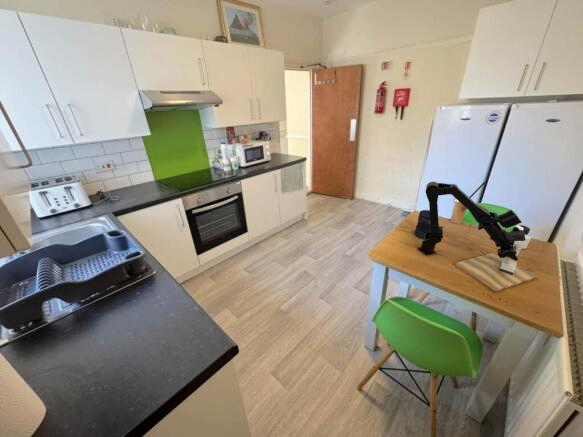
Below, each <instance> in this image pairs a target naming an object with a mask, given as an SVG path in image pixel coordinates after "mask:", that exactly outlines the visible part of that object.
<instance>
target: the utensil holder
mask: <svg viewBox="0 0 583 437" xmlns="http://www.w3.org/2000/svg"><path fill="white" fill-rule="evenodd" d="M485 184H486V181H483V182H482V183H481V185H479V186H478V187H477V188H476V190H474V192H473V193H471V195H470V196H468V197H469V198H471V199H472V197H473V196H474V195H475V194H476V193H477V192H478V191H479V190H480V189H481V188H482V187H484V185H485ZM452 199H453V204H452V210H451V215H450V220H449V221H450V222H451V223H453V224H462V222H463V220H464V218H465V216H466V214H467V212H468V211H469V210H468V209H467V208H466V207H465V206H464V205H463V204H461V203H460V202H459V201H458V200H457V199H456V198H455V197H454V198H452Z"/></svg>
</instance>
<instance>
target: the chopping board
mask: <svg viewBox="0 0 583 437" xmlns="http://www.w3.org/2000/svg"><path fill="white" fill-rule="evenodd" d="M504 258H505V257H504ZM504 258H500V257H499V256H498V254H497V253H494V252H490V253H486V254H482V255H479V256H476V257H472V258H468V259H464V260H461V261H457V262H455V263H454V266H455V267H457V268H458V269H460V270H461V271H463V272H464V273H466V274H468V276H470V277H472V278H473V279H475V280H476V281H478V282H479V283H481V284H482V285H483V286H485V287H486V288H488V289H490V290H491V291H493V292H494V293H496V292H498V291H502V290H505V289H508V288H510V287H514V286H518V285H519V284H524V283H526V282H529V281H532V280H536V278H538V277H537V275H534V274H533V273H531V272H529V271H528V270H526V269H524V268H523V267H520V266H518V265H516V268H515V271H514V273H513V275H510V274H507V273H504V272H502V271H499V269H500V266H501V263H502V261H503V259H504Z"/></svg>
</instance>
